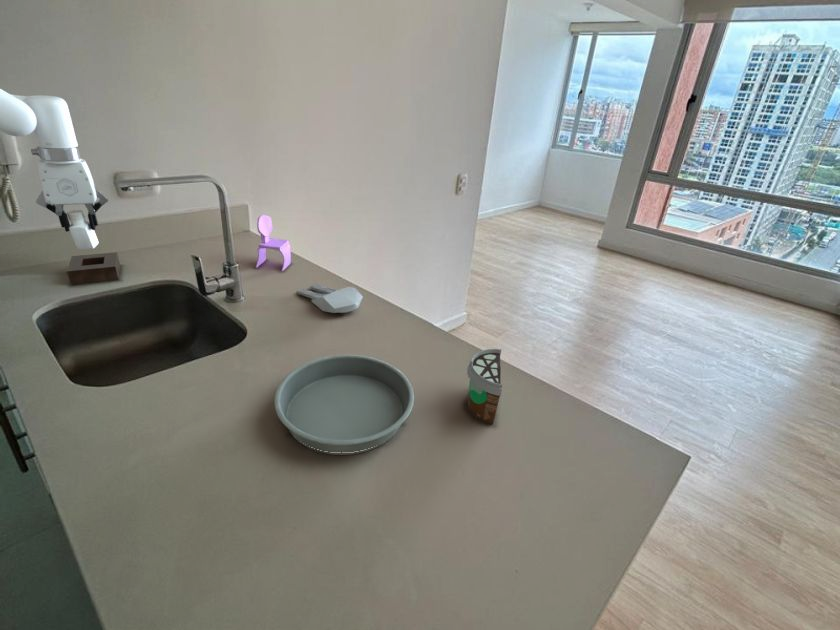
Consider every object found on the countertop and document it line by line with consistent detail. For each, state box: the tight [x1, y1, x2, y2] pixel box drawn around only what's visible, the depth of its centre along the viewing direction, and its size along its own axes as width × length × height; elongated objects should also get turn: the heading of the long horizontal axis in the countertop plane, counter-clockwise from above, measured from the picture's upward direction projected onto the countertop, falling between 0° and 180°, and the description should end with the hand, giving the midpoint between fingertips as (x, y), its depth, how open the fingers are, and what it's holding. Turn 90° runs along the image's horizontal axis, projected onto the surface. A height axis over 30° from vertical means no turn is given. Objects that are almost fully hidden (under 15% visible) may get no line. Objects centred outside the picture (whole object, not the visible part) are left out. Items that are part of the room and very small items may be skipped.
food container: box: [466, 348, 503, 425], centre depth 85 cm, size 12×6×10 cm, turn 172°
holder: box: [66, 251, 121, 286], centre depth 119 cm, size 10×10×4 cm
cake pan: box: [273, 354, 415, 456], centre depth 81 cm, size 25×25×4 cm
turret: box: [296, 283, 363, 314], centre depth 117 cm, size 10×20×5 cm, turn 50°
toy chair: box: [255, 214, 292, 272], centre depth 131 cm, size 8×9×15 cm
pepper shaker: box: [66, 209, 99, 251], centre depth 114 cm, size 4×4×10 cm
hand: (81, 228), depth 113 cm, fingers closed on pepper shaker, 4 cm apart
